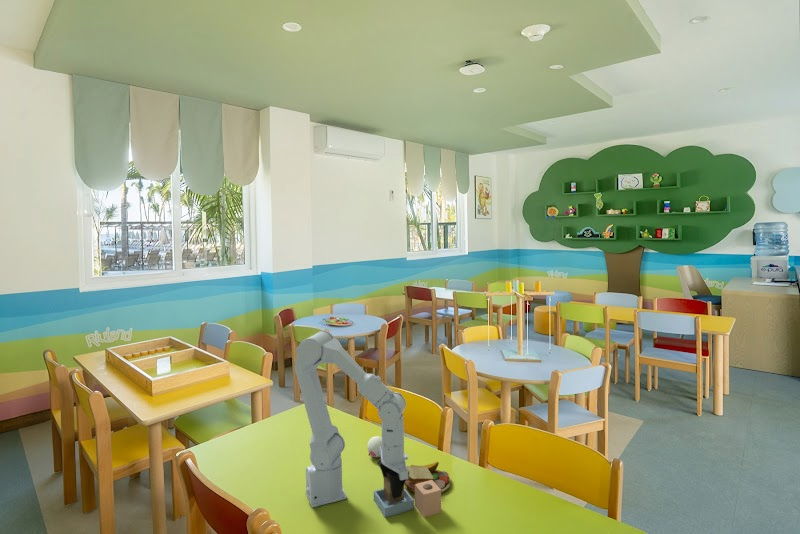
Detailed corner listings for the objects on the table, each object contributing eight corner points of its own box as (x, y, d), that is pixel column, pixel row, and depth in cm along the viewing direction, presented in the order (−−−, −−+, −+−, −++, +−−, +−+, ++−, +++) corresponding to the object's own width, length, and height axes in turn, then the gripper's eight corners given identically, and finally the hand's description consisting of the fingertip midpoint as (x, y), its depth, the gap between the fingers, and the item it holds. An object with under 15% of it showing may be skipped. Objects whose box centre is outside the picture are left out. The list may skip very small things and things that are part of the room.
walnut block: (389, 503, 115) (389, 484, 115) (383, 495, 119) (383, 476, 118) (404, 499, 117) (403, 481, 116) (397, 491, 120) (397, 473, 120)
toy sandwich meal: (455, 496, 122) (455, 479, 121) (405, 499, 120) (405, 482, 120) (445, 471, 134) (445, 455, 134) (400, 474, 133) (400, 458, 132)
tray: (384, 517, 112) (384, 508, 112) (373, 499, 120) (373, 491, 120) (414, 509, 116) (413, 500, 115) (401, 492, 123) (401, 483, 123)
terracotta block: (423, 517, 113) (423, 494, 112) (414, 506, 117) (414, 484, 117) (441, 512, 115) (441, 489, 114) (431, 501, 119) (431, 479, 119)
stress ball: (382, 471, 140) (394, 455, 139) (360, 457, 139) (372, 440, 139) (384, 457, 147) (395, 442, 146) (363, 444, 147) (375, 428, 146)
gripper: (419, 451, 111) (419, 503, 112) (396, 427, 124) (396, 474, 126) (392, 457, 108) (393, 511, 110) (371, 432, 122) (372, 480, 123)
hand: (393, 492), depth 117 cm, fingers closed on walnut block, 4 cm apart
